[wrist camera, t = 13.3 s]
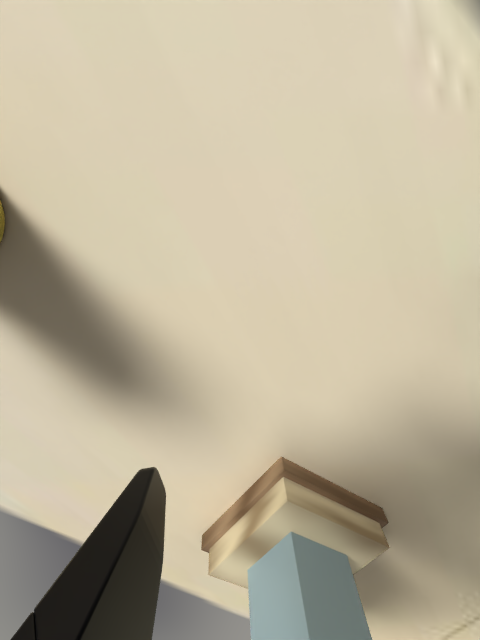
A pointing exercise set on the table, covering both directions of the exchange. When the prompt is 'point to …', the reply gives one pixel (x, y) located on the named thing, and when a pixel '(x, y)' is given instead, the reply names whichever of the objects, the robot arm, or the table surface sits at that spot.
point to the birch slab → (294, 531)
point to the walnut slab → (300, 477)
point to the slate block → (304, 594)
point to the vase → (1, 221)
